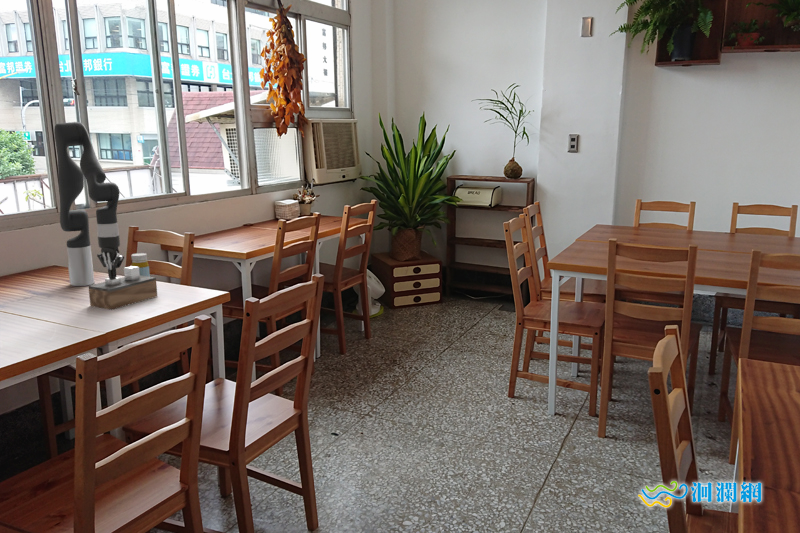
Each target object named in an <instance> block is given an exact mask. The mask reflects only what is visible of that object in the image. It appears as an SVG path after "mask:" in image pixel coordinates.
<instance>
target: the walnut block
mask: <svg viewBox="0 0 800 533" xmlns="http://www.w3.org/2000/svg"><path fill="white" fill-rule="evenodd" d="M120 278H121V284H118V285H114V286H109V285H106V284H105V281H103V282H98V283H96V284H95V283H94V284H91V285H87V286H88V294H89V304H90V305H91V306H90V307H94V306H95V308H100V309H107V310H110V309H111V311H112V309H113V310H115V308H116V309H119V308H122V306H123V307H126V306H128V304H130V305H133V304H136V303H139V301H140V302H143V301H146V300H145V299H147V300H149V299H148V298H150V299H153V298H152V297H154V298H156V297H155V296H157V297H158V289H157V288H158V287H157V285H158V284H157V277H155V276H154V277H153V276H150V277H148V276H142V275H140V279H138V280H134V281H128V280H125V276H122V277H120ZM142 300H143V301H142ZM135 302H136V303H135ZM132 303H133V304H132ZM125 305H126V306H125Z"/></svg>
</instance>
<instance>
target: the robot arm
mask: <svg viewBox="0 0 800 533" xmlns="http://www.w3.org/2000/svg"><path fill="white" fill-rule="evenodd" d="M53 131H54V132H53V133H54V134H53V135H54V141H55V149H56V154H57V156H56V157H57V169H58V170H57V174H58V177H57V178H58V188H59V190H58V191H59V202H60V203H59V223H60V227H61V229H62V231H64V232H67V233H68V232H79V231H80V233H79V234H77V235H76V236H75V237H72V238H69V239H67V240H66V250H67V257H68V258H67V259H68V263H67V269H68V276H69V277H68V278H69V285H70V286H73V287H85V286H90V285H94V284H95V275H94V274H95V273H94V266H93V265H94V264H93V256H92V254H93V253H92V246H91V239H90V236H91V235H90V222H89V221H90V220H89V214H88V211H86V210H85V209H72V210H71V207H72V204H73V203H74V201H76V199H78V197H79V196H80V195H81V193H82V192H83V190H84V188H85V187H84V186H85V183H84V182H85V180H86V184H87V190H88V196H89V198H90V199H91V200H92V202H96V203H102V202H107V203H106V204H105V205H104V206H102V207H99V208H97V209H96V210H95V215H96V232H97V242H98V243H97V244H98V247H99V249H100V253H97V255H96V256H97V259H98V260H99V262H100V264H101V265H102V266H103V268H106V269H107V274H108V278H110V279H114V278H116V277H117V269H118V268H119V269H120V267H121V266H122V263H123V261H124V259H125V256H124V255H122V254H120V250H119V247H121V239H120V230H119V225H118V217H117V215H118V214H117V211H118V205H119V204H118V203H119V198H120V193H121V192H120V189H119V188H120V187H119V186H118V185H117V184H116V183H115V182H110V181H109V182H105V181H106V178H107V176H106V173H105V171H104V169H103V166H101V165H102V164H100V162H99V160H98V158H97V157H98V156H97V155H96V152H95V149H94V146H93V143H92V141H91V138H90V135H89V133H88V132H89V131H88V130H87V128H86V126H85V125H84V124H83V123H82V122H79V121H71V122H68V121H67V122H58V123H55V125H54V130H53ZM78 146H82V148H83V150H82V153H81V154H82V155H81V157H80V160H79V165H78V163H76V161H74V159H73V158H72V156H71V155H70V154H69V152H68V147H78Z"/></svg>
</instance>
